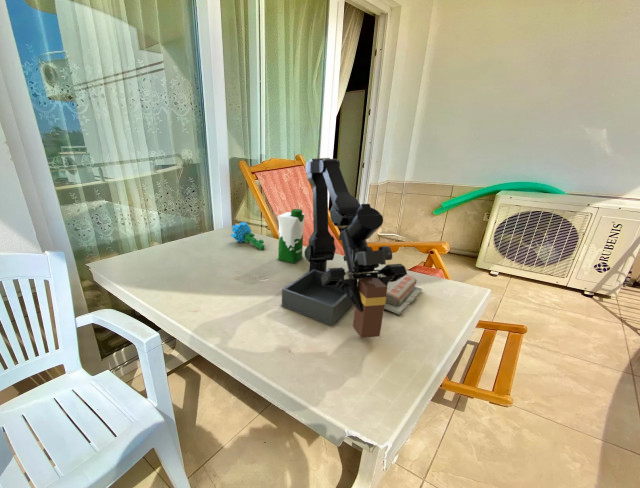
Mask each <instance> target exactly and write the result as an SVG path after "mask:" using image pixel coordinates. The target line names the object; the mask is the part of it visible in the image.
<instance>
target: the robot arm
mask: <svg viewBox="0 0 640 488" xmlns="http://www.w3.org/2000/svg"><path fill="white" fill-rule="evenodd" d="M340 162H341V161H340V160H339V159H337V158H330V157H319V158H310V159H309V160H308V161H307V162H306V163H305V174H306V178H307V182H308V183H309V184H310V185H311V187H312V215H313V216H312V219H313V220H312V221H313V232H312V233H311V235H310V237H309V238H308V244H307V246H306V248H305V250H304V258H305V259H306V261H307V262H308V263H309V265H308V266H309V267H308V271H307V272H306V273H305V274H307V273H308V272H310V271H311V270H313V269H315V270H318V271H322V272H325V273H324V274H323V275H322V277H321V281H322V286H335V284H336V283H337V281H338V282H339V285H338V286H337V288H338V289H342V290H343V291H344V293H345V294H346V295H347V296H348V297H349V298H350V299H351V301H352V302H353V303H354V305H353V306H354V307H355V306H356V307H357V309H358V310H359V311H360V312H362V311H363V306H362V302H361V298H360V295H359V291H358V288H357V282H358V279H368V278H378V279H379V280H380V281H381V282H382V283H384V284H385V285H386V286H387V285H388V282H394V281H397V280H399V279H400V278H402V277H403V276H405V275H408V271H407V268H406V267H405V265H403V264H402V263H391V264H387V262H386V261H392V260H393V251H392V249H391V246H390V245H386V246H385V245H384V246H383V245H382V246H379V247H378V248H377V250H373V248H372V246H369V245H368V241H367V240H369V239H370V238H371V237H372V236H373V235H374V234H375V233H376V232H377V231H378V230H379V229H380V227H381V226H382V225H383V223H384V217H383V214H382V213H380V211H379V210H377V209H376V208H374V207H371V203H360V202H359V200H358V198H356V197H355V196H353V195H351V193H350V191H349V188H348V185H347V183H346V180H345V178H344V176H343V173H342V170H341V168H340V165H341V163H340ZM329 197H330V200H331V203H332V205H331V208H330V210H329ZM329 212H330V213H329ZM329 214H330V215H329ZM329 217H330V221H331V222H332V225H334V227H344V228H343V229H341V230H340V233H339V235H338V238H337V239H338V241H341V245H342V249H343V253H344V256H343V258H342V259H343V261H344V262H346V265H347V270H348V271H345V269H344V268H343V267H329V268H327V265H328V261H333V260H334V258H335V253H336V250H337V247H336V245H335V237H334V236H333V235H332V234H331V232H330V231H329ZM380 265H381V266H383V267H382V268H381V269H377V268H380ZM384 265H385V266H384Z"/></svg>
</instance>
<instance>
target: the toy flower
mask: <svg viewBox="0 0 640 488" xmlns="http://www.w3.org/2000/svg"><path fill="white" fill-rule="evenodd" d="M231 232H233V233H231V234H230V236H231V237H232V238H233V239H234V240H235V241H237V242H238V243H239V242H240V243H243V242H245V243H246V244H249V243H251V244H252V245H253V246H255V247H256V248H258V249H259V250H264V249H265V246H266V245H265V244H264V242H265V241H264V240H263V239H259V240H258V239H256V237H255V234H254V233H253V232H252V229H251V226H250V225H249V224H248V223H247V222H245V221H241V222H239V224H238V223H236V224H234V225H232V227H231Z"/></svg>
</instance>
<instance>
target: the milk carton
mask: <svg viewBox="0 0 640 488" xmlns="http://www.w3.org/2000/svg"><path fill="white" fill-rule="evenodd" d="M305 219H306V213H303V209H302V208H293V209H291V210H290V211H286V212H283V213H282V214H279V215H278V216H277V220H278V221H277V222H278V256H277V258H278V260H279V261H282V262H287V263H291V264H296V263H297V262H298V261H300V260H301V259H302V258H303V246H304V226H305Z"/></svg>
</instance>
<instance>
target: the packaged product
mask: <svg viewBox="0 0 640 488" xmlns="http://www.w3.org/2000/svg"><path fill="white" fill-rule="evenodd" d="M417 282H418V279H417V278H415V277H414V276H412V275H408V274H407V275H405V276H403V277H402V278H400V279H399V280H397V281H394V282H388V285H387V293H386V302H385V305H384V310H387V311H389V312H392V313H394V314H396V315H399V316H400V315H401V313H403V311H404V310H405V309H406V308H407V307H408V306H409V305H410V304H411V303H412V302H414V301H415V299H416V297H417V296H418V295H419V294H420V293H421V291H423V288H421V287H417V286H416V285H417Z"/></svg>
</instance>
